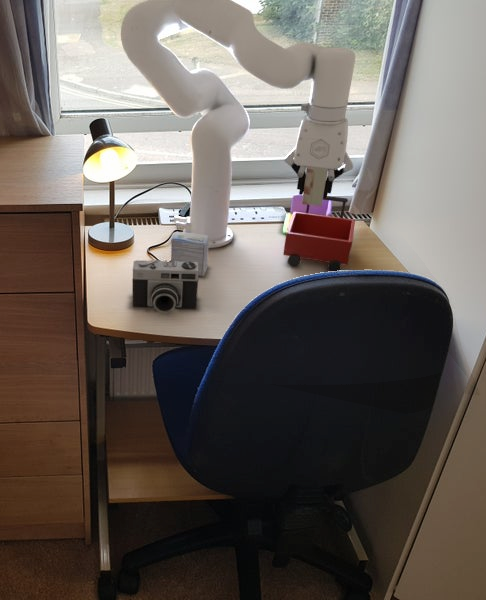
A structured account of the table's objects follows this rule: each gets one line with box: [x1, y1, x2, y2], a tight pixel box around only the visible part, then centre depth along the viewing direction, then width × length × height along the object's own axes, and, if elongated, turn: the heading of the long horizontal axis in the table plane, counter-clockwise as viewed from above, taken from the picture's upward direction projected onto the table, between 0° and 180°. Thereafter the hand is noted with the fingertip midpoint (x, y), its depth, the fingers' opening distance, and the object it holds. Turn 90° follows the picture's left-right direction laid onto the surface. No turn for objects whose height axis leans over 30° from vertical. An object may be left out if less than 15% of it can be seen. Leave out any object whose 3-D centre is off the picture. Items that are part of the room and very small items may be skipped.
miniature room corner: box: [282, 193, 333, 235], centre depth 163 cm, size 12×12×7 cm
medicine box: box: [170, 231, 210, 277], centre depth 145 cm, size 8×4×9 cm, turn 71°
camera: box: [131, 259, 199, 314], centre depth 132 cm, size 14×9×10 cm, turn 77°
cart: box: [282, 195, 356, 272], centre depth 149 cm, size 14×14×13 cm
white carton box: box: [302, 166, 328, 206], centre depth 139 cm, size 5×4×10 cm
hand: (313, 193), depth 141 cm, fingers closed on white carton box, 4 cm apart
